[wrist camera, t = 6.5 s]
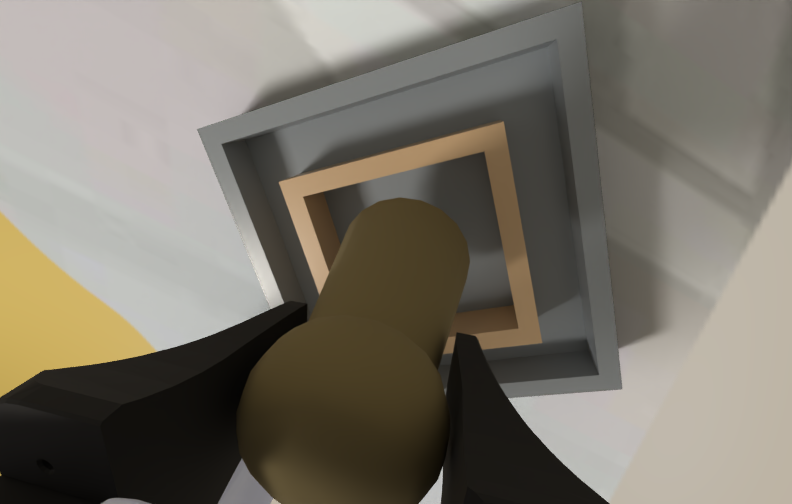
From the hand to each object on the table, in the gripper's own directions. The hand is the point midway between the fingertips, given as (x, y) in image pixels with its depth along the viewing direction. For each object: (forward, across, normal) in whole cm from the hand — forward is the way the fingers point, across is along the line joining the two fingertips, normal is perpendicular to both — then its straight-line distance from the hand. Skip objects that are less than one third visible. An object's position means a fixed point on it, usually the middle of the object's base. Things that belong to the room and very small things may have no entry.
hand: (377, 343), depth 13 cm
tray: (+10, 0, 0) cm, 10 cm away
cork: (+6, 0, -1) cm, 6 cm away
